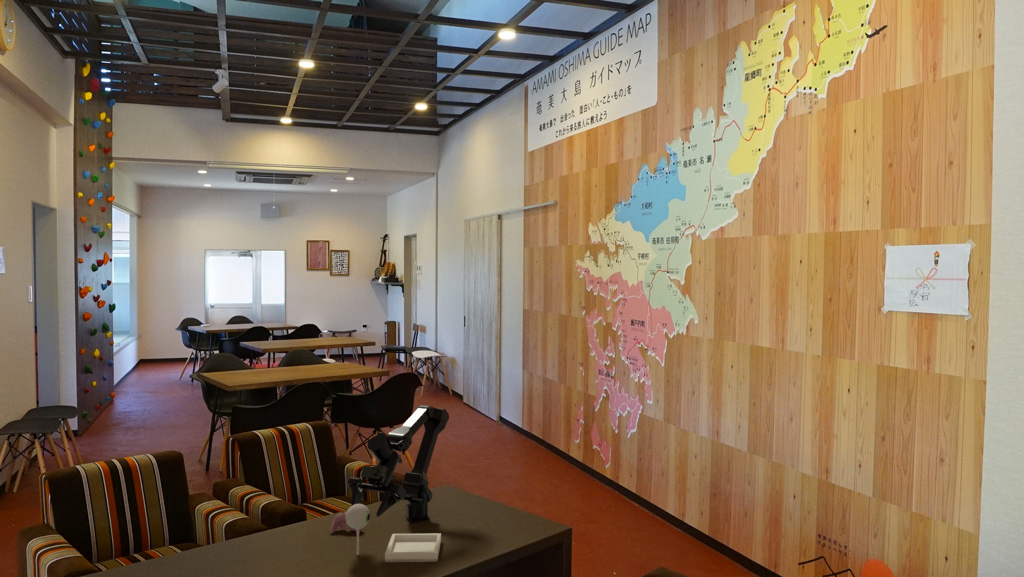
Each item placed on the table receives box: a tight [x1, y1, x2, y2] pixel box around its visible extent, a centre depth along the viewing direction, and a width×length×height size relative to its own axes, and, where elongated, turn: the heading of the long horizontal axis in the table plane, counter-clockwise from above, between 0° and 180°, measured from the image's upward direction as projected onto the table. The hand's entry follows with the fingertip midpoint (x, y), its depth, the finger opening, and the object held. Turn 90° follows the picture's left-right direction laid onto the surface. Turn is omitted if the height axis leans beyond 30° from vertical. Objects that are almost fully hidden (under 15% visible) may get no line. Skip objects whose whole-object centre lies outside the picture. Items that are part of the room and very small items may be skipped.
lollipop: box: [345, 503, 371, 556], centre depth 198 cm, size 7×7×15 cm
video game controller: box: [329, 511, 362, 535], centre depth 217 cm, size 10×5×7 cm, turn 84°
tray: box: [384, 532, 442, 563], centre depth 200 cm, size 15×15×2 cm
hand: (364, 514), depth 201 cm, fingers open, 9 cm apart
